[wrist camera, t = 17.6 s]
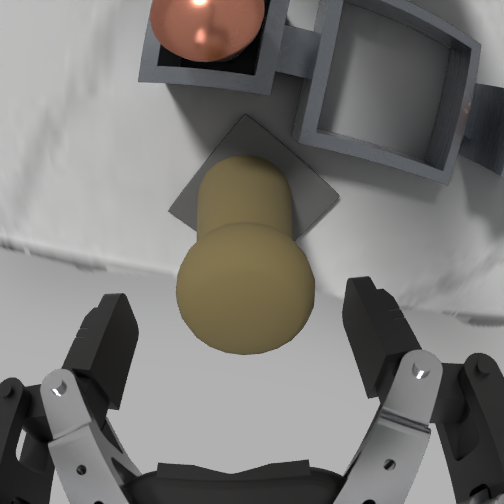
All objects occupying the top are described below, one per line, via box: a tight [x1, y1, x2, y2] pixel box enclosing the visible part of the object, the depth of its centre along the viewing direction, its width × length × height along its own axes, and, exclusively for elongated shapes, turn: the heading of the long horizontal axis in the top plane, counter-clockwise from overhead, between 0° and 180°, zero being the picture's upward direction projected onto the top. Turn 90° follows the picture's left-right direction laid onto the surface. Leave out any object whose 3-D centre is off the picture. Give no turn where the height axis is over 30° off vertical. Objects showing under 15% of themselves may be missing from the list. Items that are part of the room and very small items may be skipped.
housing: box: [138, 0, 504, 185], centre depth 14 cm, size 27×11×5 cm, turn 80°
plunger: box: [150, 0, 264, 62], centre depth 11 cm, size 4×4×7 cm
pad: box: [168, 114, 339, 241], centre depth 20 cm, size 8×8×1 cm
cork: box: [176, 155, 315, 355], centre depth 15 cm, size 6×6×11 cm
